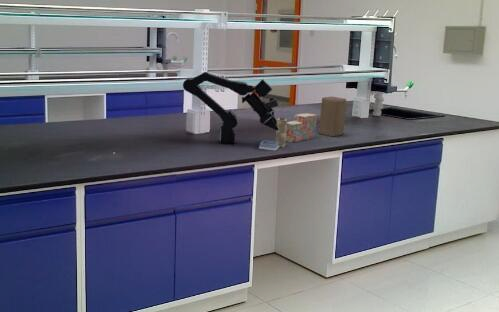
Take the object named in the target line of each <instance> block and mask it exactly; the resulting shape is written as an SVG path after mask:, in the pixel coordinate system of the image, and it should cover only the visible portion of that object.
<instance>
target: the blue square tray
mask: <svg viewBox="0 0 499 312" xmlns="http://www.w3.org/2000/svg"><path fill="white" fill-rule="evenodd" d="M279 148H280V147H279V142H276V141H274V140H273V141H272V140H267V139H266V140H265V139H263V140H262V141H261V142H259V145H258V149H261V150H267V151H277V150H278V149H279Z"/></svg>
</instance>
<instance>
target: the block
mask: <svg viewBox="0 0 499 312" xmlns="http://www.w3.org/2000/svg"><path fill="white" fill-rule="evenodd" d="M320 103H321V104H320V105H321V106H320V116H319V126H318V133H319V134H320V135H324V136H328V137H331V138H332V137H338V136H342V135H344V129H345V127H344V126H345V119H346V109H347V99H346V98H343V97H337V96H326V97H325V96H324V97H322V98H321V102H320Z"/></svg>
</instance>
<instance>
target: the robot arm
mask: <svg viewBox="0 0 499 312" xmlns="http://www.w3.org/2000/svg"><path fill="white" fill-rule="evenodd" d="M193 78H194V79H193ZM205 82H208V83H212V84H215V85H217V86H221V87H223V88H226V89H229V90H230V91H232V92H234V93H236V94H238V95H239V96H242V97H241V104H244V103H245V102H246V103H247V104H248V105H249V106H250V108H251V109H252V111H253V112H254V113H256V114H257V116H258V117H259V122H260V124H261V125H263V126H267V127H268V128H271V129H272V130H274V131H275V132H276V131H277V130H279V129H278V127H277V119H276V118H275V110H274V108H275V107H276V108H277V107H278V106H279V102H278V100H277V98H274V97H270V98H269V100H268V101H266V102H265V101H264V100H262V99H261V98H262V97H263V98H265V97H267V95H269V93H270V92H272V91H273V88H272V87H271V86H270V84H269V83H267V82H266V81H265V80H264V79H263V78H262V79H261V80H259V82H258V83H257V84H256V85H250V84H248V83H247V82H245V81H239V80H232V79H228V78H225V77H221V76H219V75H216V74H213V73H209V72H208V71H204V72H202V73H201V74H199V75H197V76H195V77H187V78H186V79H185V80H184V81H183V83H182V88H183V90H184V91H186V92H187V93H189V94H191V95H192V96H194V97H197V98H198V99H199V100H200V101H202V102H203V103H204V104H205V105H206V106H207V107H209V109H210V110H212V112H214V113H215V114H216V115H218V116H219V118H220V119H221V120H222V123H221V126H220V129H219V130H220V131H219V139H218V141H219V143H220V144H232V145H233V144H235V142H236V141H235V140H236V133H235V130H234V128H236V127H237V125H238V123H239V122H238V121H239V117H238V116H237V113H235V112H233V110H232V109H230V108H229V110H227V109H225V108H224V107H222V105H220V104H219V103H218V102H217V101H216V100H214V99H213V97H212V96H210V95H209V94H208V93H207V92H205V90H203V89H202V87H201V86H200V84H203V83H205Z"/></svg>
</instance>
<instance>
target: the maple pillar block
mask: <svg viewBox="0 0 499 312" xmlns="http://www.w3.org/2000/svg"><path fill="white" fill-rule="evenodd" d="M276 121H277V127H278V129H279V130H277V131H276V130H275V142H279V148H285V147H286V142H287V141H286V128H287V122H288V119H287V118H285V117H284V116H282V117H278V118H277V119H276Z"/></svg>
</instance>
